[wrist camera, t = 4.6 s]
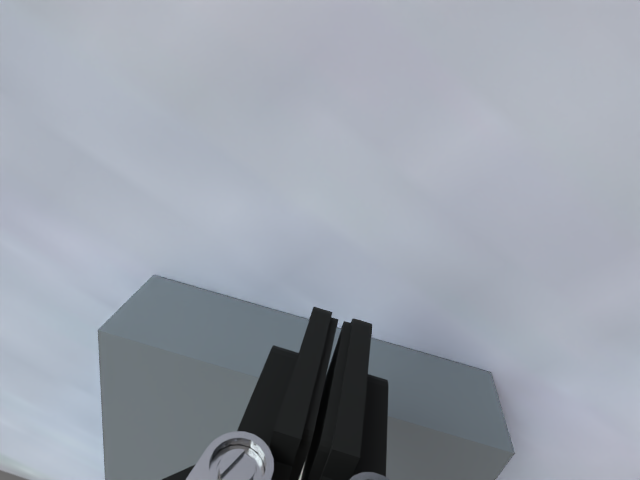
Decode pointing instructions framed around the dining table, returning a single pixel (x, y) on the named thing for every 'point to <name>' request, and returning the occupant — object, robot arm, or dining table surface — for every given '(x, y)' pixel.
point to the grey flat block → (242, 376)
